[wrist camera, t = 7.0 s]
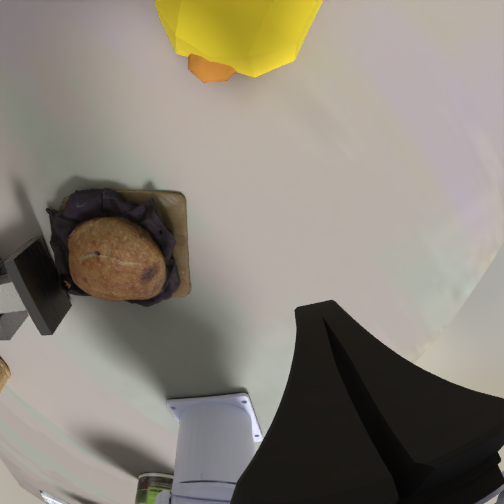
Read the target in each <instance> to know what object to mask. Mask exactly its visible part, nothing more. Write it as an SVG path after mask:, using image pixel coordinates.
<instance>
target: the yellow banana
mask: <svg viewBox="0 0 504 504" xmlns="http://www.w3.org/2000/svg"><path fill="white" fill-rule="evenodd" d="M322 2H323V0H156V1H155V6H156V9H157V12H158V15H159V18H160V21H161V23H162V25H163V27H164V29H165V31H166V33H167V35H168V38H169V40H170V42H171V44H172V46H173V48H174V50H175V52H176V54H179V55H182V56H186V57H188V69H189V70H190V71H191V72H192V73H193V74H194V75H196V76H197V77H198V78H199V79H200V80H201V81H202V82H204V83H207V82H219V81H227V80H228V79H229V78H230V77H231V76H232V75H233V74H234V73H235V72H238V73H241V74H244V75H247V76H250V77H253V78H255V77H257V76H260V75H262V74H264V73H266V72H269V71H271V70H273V69H275V68H278V67H280V66H283V65H285V64H287V63H290V62H292V61H295V59H296V57H297V54H298V52H299V50H300V48H301V46H302V44H303V41H304V39H305V37H306V35H307V33H308V31H309V29H310V26H311V24H312V22H313V20H314V18H315V16H316V14H317V12H318V10H319V8H320V6H321V4H322Z"/></svg>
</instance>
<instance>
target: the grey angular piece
mask: <svg viewBox="0 0 504 504" xmlns="http://www.w3.org/2000/svg"><path fill="white" fill-rule="evenodd" d="M3 263H4V265H5V267H6V270H7V272H8V274H4V275H0V314H1V313H9V312H16V311H24V310H27V311H28V313H29V315H30V317H31V318H32V320H33V322H34V324H35V325H36V327H37V329H38V330H39V332H40V334H41V335H53V333H54V332H55V330H56V328H57V327H58V325H59V324H60V322H61V321H62V319H63V318H64V316H65V315H66V314H67V312H68V311H69V309H70V308H71V306H72V304H71V302H70V300H69V298H68V296H67V294H66V292H65V290H63V289H62V287H61V285H60V282H59V277H58V275H57V273H56V271H55V268H54V266H53V264H52V262H51V259H50V257H49V255H48V252H47V250H46V247H45V245H44V242H43V240H42V237H38V238H35V239H32V240H30V241H29V242H27V243H26V244H25V245H24V246H22V247H21V248H20V249H19V250H18V251H16V252H15V253H14V254H13V255H12V256H10V257H9V258H8V259H7V260H6V261H5V262H3Z"/></svg>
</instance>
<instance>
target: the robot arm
mask: <svg viewBox="0 0 504 504" xmlns="http://www.w3.org/2000/svg"><path fill="white" fill-rule="evenodd" d="M294 311H295V318H296V326H297V331H296V342H295V350H294V356H293V361H292V365H291V370H290V374H289V378H288V381H287V385H286V388H285V391H284V394H283V397H282V400H281V402H280V405H279V407H278V410H277V412H276V415H275V417H274V419H273V422H272V424H271V426H270V428H269V430H268V432H267V434H266V435H265V437H264V439H263V436H262V433H261V430H260V428H259V425H258V422H257V419H256V416H255V413H254V410H253V407H252V404H251V401H250V398H249V395H248V394H246V393H238V394H230V395H221V396H211V397H200V398H187V399H171V400H167V403H166V405H167V406H168V408H169V410H170V411H171V413H172V414H173V415H174V417H175V418H176V420H177V421H178V423H179V424H180V425H179V433H178V441H177V450H176V459H175V469H174V479H173V484H172V490H171V494H170V491H168V490H162V492H160V493H158V494H157V496H156V502H155V504H484V503H486V502H487V501H489V500H490V499H491V498H493V497H495V496H496V495H498V494H499V493H500V494H499V496H498V499H497V502H496V503H495V504H504V471H503V472H501V471H500V469H499V467H498V464H499V463H500V462H501V458H500V456H499V454H498V451H499V450H500V449H501V447H502V446H503V445H504V399H503V398H500V397H495V396H492V395H488V394H484V393H480V392H477V391H473V390H470V389H467V388H464V387H462V386H459V385H456V384H454V383H451V382H449V381H447V380H444V379H442V378H440V377H438V376H436V375H434V374H431V373H430V372H427V371H425V370H423V369H422V368H420V367H418V366H416V365H414V364H413V363H411V362H409V361H408V360H406V359H405V358H403V357H401V356H400V355H398V354H397V353H395V352H394V351H393V350H391V349H390V348H388V347H387V346H386V345H384V344H383V343H382V342H380V341H379V340H378V339H376V338H375V337H374V336H373V335H372V334H370V333H369V332H368V331H367V330H366V329H364V328H363V327H362V326H361V325H360V324H359V323H357V322H356V321H355V320H354V319H353V318H352V317H351V316H350V315H349V314H348V313H347V312H345V311H344V310H343V309H342V308H341V307H340V306H339V305H338V304H337V303H336V302H335V301H334V300H329V301H324V302H320V303H315V304H310V305H305V306H300V307H297V308H296V309H295V310H294ZM262 440H263V441H262ZM259 441H262V443H261V445H260V447H259V449H258V450H257V452H256V454H255V446H254V442H259Z"/></svg>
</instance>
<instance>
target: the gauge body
mask: <svg viewBox="0 0 504 504" xmlns="http://www.w3.org/2000/svg"><path fill="white" fill-rule="evenodd" d="M2 266H3V264H2V261H1V259H0V268H1V267H2ZM0 275H1V274H0ZM27 317H28V314H27V312H26V310H24V311H16V312H9V313H1V314H0V340H10V339H11V338H12V337H13V335H14V334H15V333H16V331H17V330H18V329H19V327H20V326H21V325H22V323H23V322H24V321H25V319H26V318H27Z"/></svg>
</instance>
